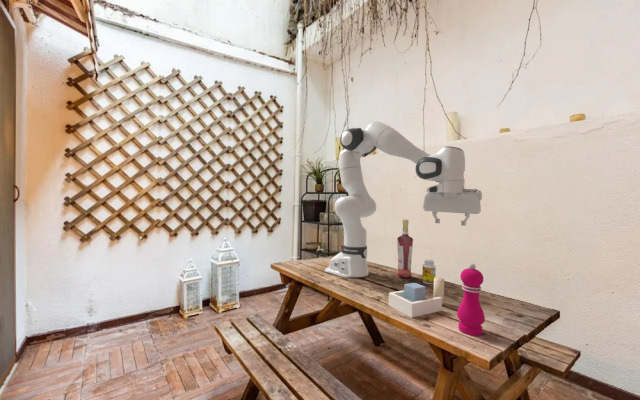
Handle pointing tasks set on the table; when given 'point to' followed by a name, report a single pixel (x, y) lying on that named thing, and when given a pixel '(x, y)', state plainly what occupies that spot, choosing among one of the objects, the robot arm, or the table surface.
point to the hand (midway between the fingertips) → (450, 224)
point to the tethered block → (423, 290)
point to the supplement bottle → (428, 272)
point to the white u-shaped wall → (414, 304)
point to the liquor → (404, 252)
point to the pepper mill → (471, 302)
